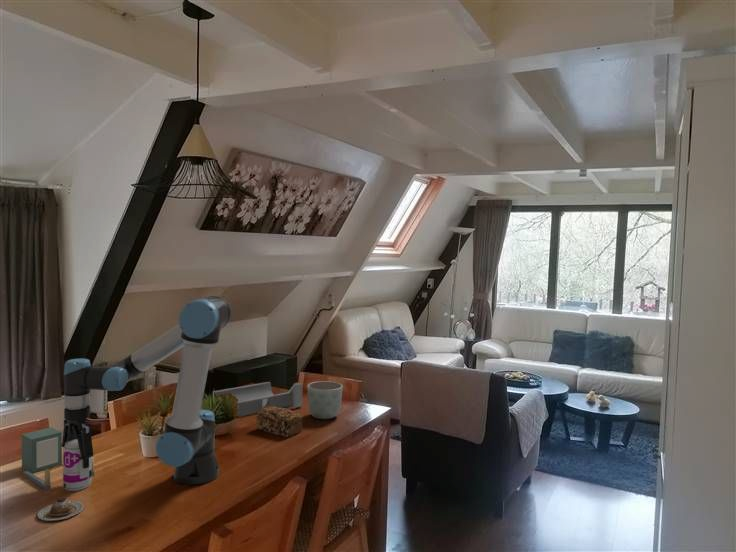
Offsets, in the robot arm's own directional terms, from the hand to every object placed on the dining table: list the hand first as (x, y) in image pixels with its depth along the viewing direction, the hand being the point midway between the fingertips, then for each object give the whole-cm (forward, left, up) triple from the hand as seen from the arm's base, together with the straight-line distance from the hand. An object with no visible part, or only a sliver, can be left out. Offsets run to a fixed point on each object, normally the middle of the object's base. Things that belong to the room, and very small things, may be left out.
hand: (77, 473), depth 179 cm
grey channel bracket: (+24, -100, -5) cm, 103 cm away
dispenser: (+17, 0, -4) cm, 18 cm away
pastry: (-14, +12, -5) cm, 19 cm away
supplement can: (0, 0, -5) cm, 5 cm away
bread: (-11, -82, -5) cm, 83 cm away
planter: (-13, -110, -5) cm, 111 cm away
